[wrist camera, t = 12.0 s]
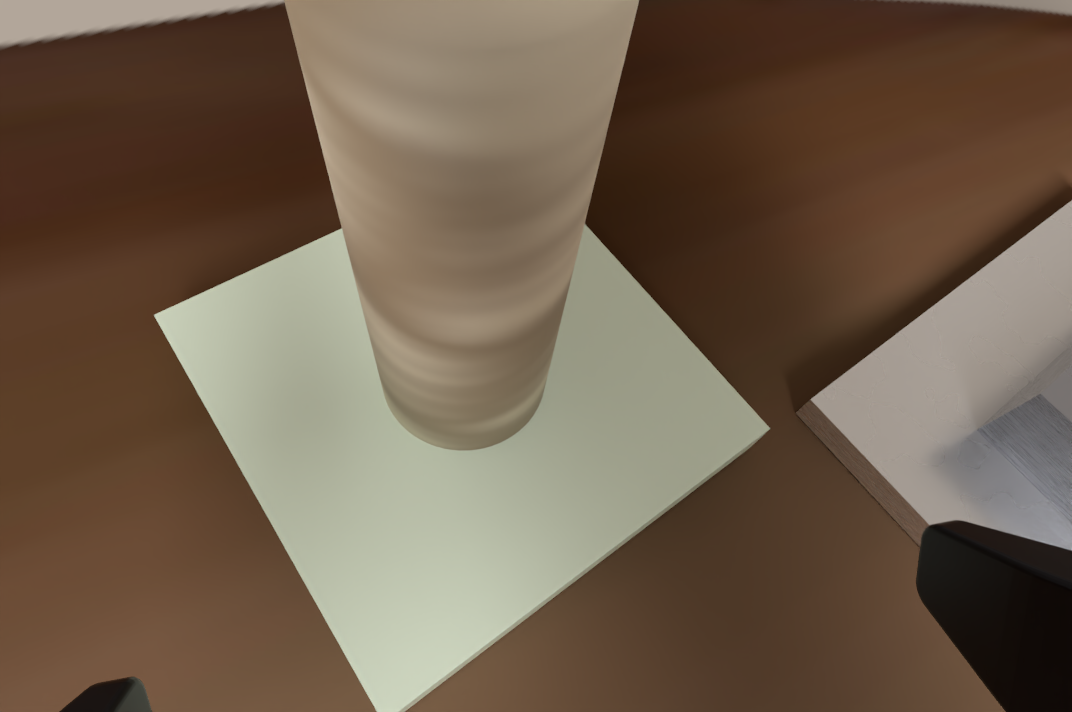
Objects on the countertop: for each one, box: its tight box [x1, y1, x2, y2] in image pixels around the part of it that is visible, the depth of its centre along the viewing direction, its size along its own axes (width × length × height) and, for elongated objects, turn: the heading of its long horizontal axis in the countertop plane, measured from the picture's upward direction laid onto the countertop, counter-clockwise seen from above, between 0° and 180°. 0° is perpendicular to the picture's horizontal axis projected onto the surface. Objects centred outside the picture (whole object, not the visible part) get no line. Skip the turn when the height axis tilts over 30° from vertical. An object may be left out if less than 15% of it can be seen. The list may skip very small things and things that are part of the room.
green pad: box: [154, 224, 770, 712], centre depth 19 cm, size 12×12×2 cm
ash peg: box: [284, 0, 639, 450], centre depth 13 cm, size 4×4×12 cm
